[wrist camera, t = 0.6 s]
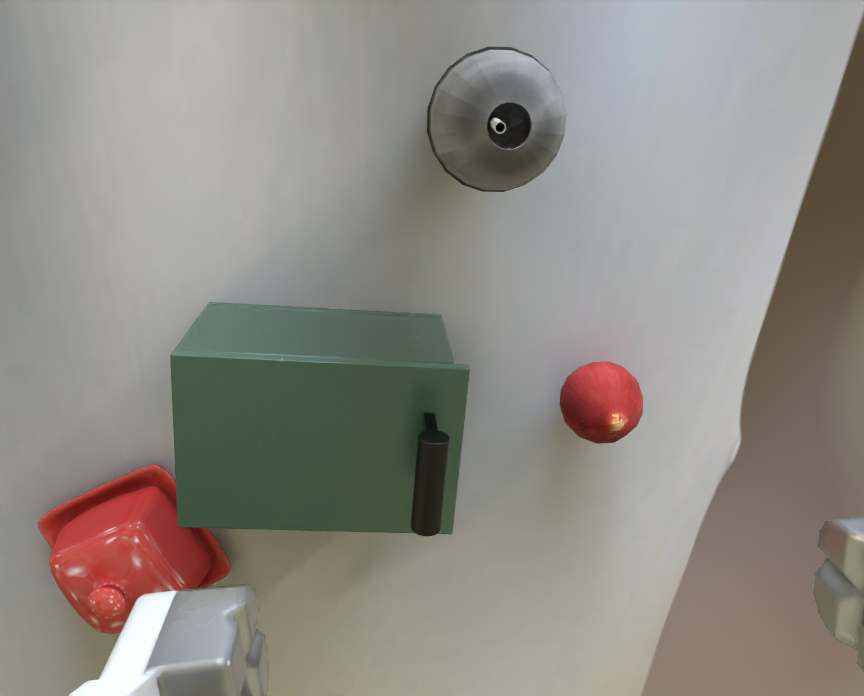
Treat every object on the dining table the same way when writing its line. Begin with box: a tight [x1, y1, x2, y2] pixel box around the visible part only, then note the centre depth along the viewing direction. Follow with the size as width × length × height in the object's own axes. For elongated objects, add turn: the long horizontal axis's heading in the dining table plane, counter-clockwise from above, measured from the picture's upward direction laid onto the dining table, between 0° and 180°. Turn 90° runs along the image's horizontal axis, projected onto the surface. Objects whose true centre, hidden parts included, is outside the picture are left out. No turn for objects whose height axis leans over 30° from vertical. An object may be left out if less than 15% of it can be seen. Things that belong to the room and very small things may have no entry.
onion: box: [560, 362, 643, 443], centre depth 53 cm, size 6×6×8 cm
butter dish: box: [38, 464, 231, 634], centre depth 54 cm, size 12×12×8 cm
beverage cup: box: [427, 47, 566, 192], centre depth 40 cm, size 7×7×20 cm
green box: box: [174, 302, 455, 364], centre depth 50 cm, size 17×12×10 cm
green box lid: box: [170, 351, 470, 536], centre depth 43 cm, size 17×12×5 cm, turn 85°
